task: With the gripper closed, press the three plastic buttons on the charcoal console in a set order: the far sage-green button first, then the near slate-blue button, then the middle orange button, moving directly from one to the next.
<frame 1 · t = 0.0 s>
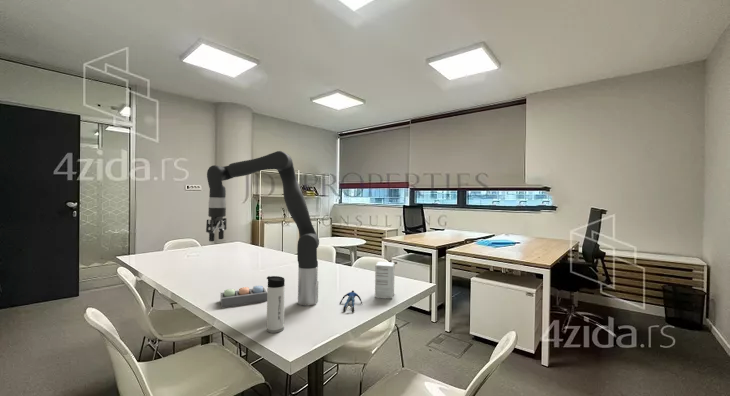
hand: (216, 240, 141), 29 cm above the table, fingers open, 8 cm apart
supplement box: (384, 296, 153), on the table
orange button: (244, 292, 141), point 4 cm above the table, slide at 0.0 cm
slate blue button: (257, 290, 144), point 4 cm above the table, slide at 0.0 cm
console: (243, 301, 141), on the table
travel mug: (274, 330, 110), on the table
person figurine: (350, 306, 137), on the table
sage button: (229, 294, 138), point 4 cm above the table, slide at 0.0 cm
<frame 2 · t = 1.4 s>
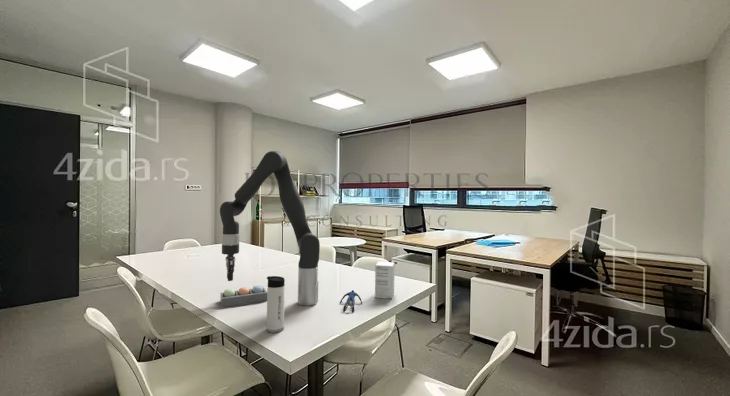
hand: (229, 279, 138), 11 cm above the table, fingers open, 4 cm apart
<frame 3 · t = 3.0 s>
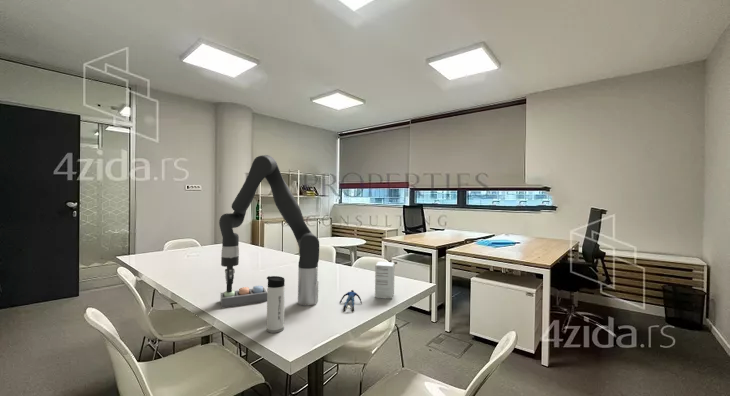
hand: (229, 291, 138), 5 cm above the table, fingers closed
sage button: (229, 295, 138), point 4 cm above the table, slide at 0.7 cm, touching gripper
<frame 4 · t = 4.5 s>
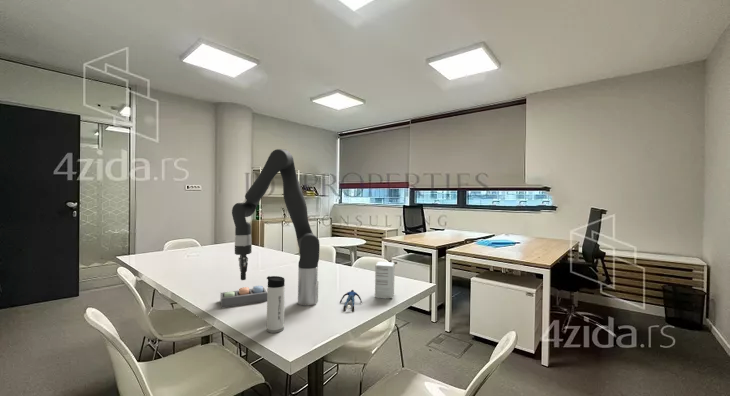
hand: (243, 279, 140), 10 cm above the table, fingers closed
sage button: (229, 296, 138), point 3 cm above the table, slide at 1.2 cm
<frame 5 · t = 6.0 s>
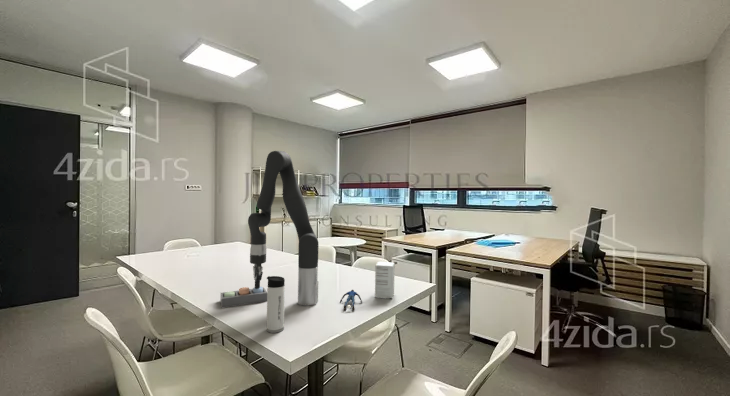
hand: (257, 288, 144), 6 cm above the table, fingers closed
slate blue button: (257, 291, 144), point 4 cm above the table, slide at 0.5 cm, touching gripper
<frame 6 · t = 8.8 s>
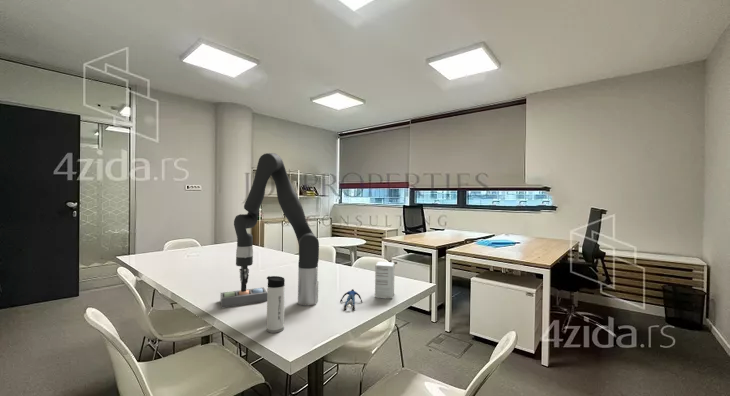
hand: (243, 291, 141), 5 cm above the table, fingers closed
orange button: (244, 294, 141), point 3 cm above the table, slide at 1.1 cm, touching gripper
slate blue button: (257, 293, 144), point 3 cm above the table, slide at 1.2 cm
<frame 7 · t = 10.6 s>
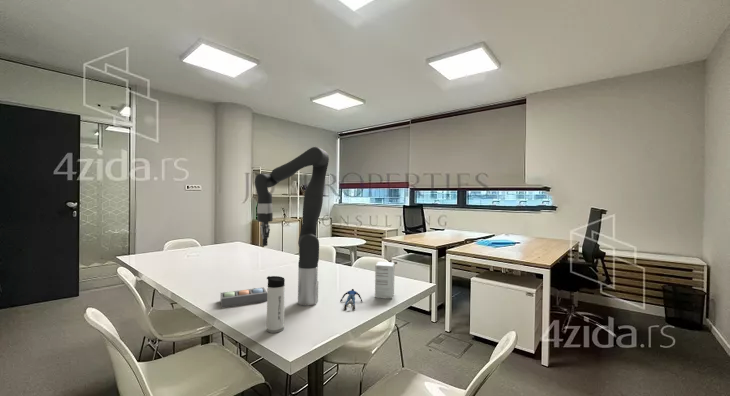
hand: (265, 245, 150), 26 cm above the table, fingers closed
orange button: (244, 294, 141), point 3 cm above the table, slide at 1.2 cm
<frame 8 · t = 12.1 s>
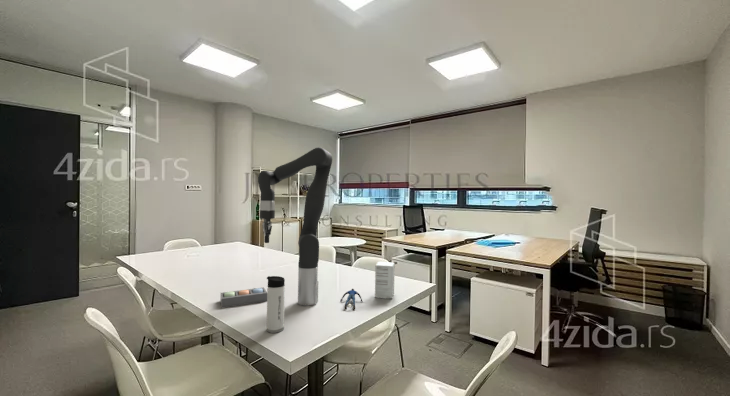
hand: (266, 242, 151), 27 cm above the table, fingers closed
at the end: sage button slide at 1.2 cm; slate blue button slide at 1.2 cm; orange button slide at 1.2 cm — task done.
